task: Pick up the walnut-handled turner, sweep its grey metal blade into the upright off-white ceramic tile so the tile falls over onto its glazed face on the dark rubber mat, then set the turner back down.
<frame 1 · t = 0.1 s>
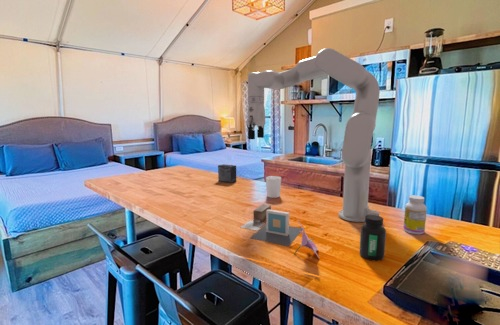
hand: (256, 138, 132), 31 cm above the table, fingers open, 9 cm apart
small box: (227, 181, 183), on the table
white cup: (273, 196, 148), on the table
supplement bottle 2: (413, 231, 102), on the table
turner: (262, 219, 115), on the table
lily: (307, 256, 85), on the table
tile: (277, 233, 100), resting on mat
supplement bottle: (371, 256, 85), on the table
mat: (277, 234, 100), on the table
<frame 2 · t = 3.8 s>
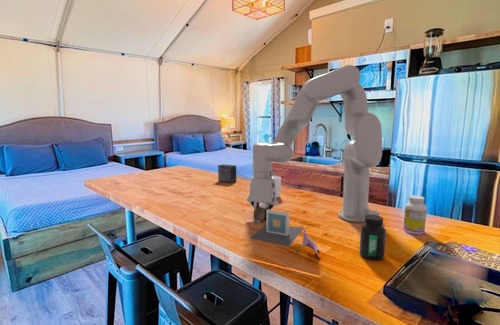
hand: (262, 218, 115), 0 cm above the table, fingers closed on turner, 3 cm apart
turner: (262, 219, 115), on the table, touching gripper
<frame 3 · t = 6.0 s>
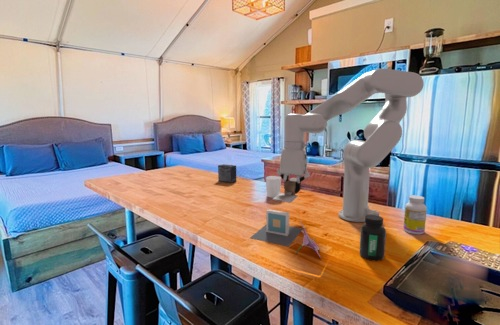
hand: (292, 191, 113), 12 cm above the table, fingers closed on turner, 3 cm apart
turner: (292, 192, 114), point 11 cm above the table, touching gripper
everything else where it was.
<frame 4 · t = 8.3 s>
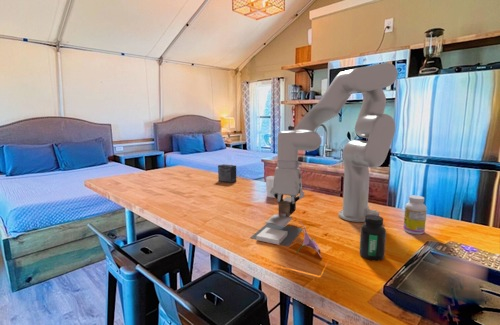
hand: (286, 211, 108), 5 cm above the table, fingers closed on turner, 3 cm apart
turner: (287, 212, 108), point 5 cm above the table, touching gripper
tile: (276, 231, 100), point 1 cm above the table, tilted 90°, touching mat
everything else where it was.
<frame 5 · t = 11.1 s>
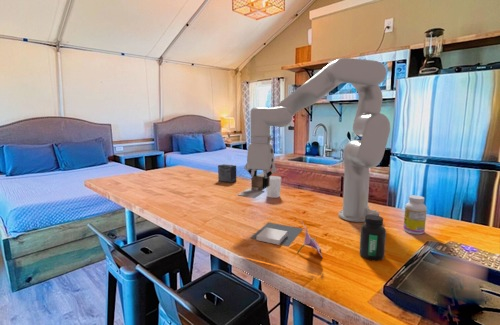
hand: (260, 186, 111), 14 cm above the table, fingers closed on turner, 3 cm apart
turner: (260, 188, 112), point 13 cm above the table, touching gripper
when the fingers open (2 cm above the table, at t = 13.6 s): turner stays where it is, on the table.
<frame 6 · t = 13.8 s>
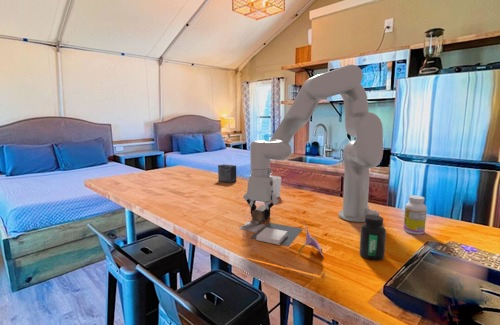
hand: (260, 216, 113), 2 cm above the table, fingers open, 5 cm apart
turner: (261, 220, 114), on the table
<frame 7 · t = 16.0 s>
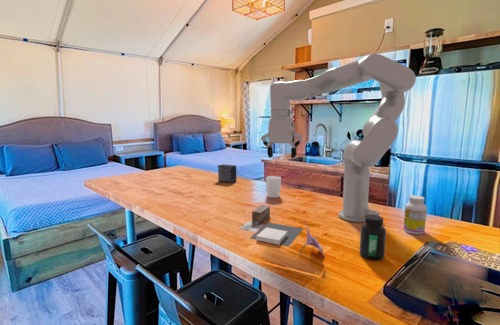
hand: (281, 157, 115), 25 cm above the table, fingers open, 9 cm apart
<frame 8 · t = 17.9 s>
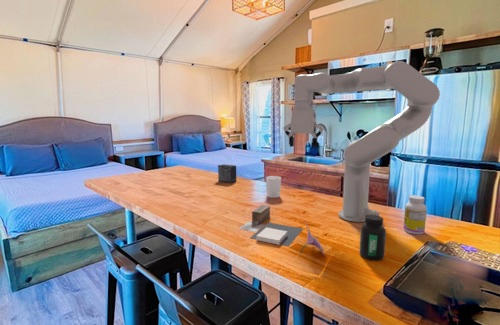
hand: (302, 146, 120), 28 cm above the table, fingers open, 9 cm apart
at the end: tile tilted 90°; tile inside the target area (3.2 cm from its centre), point 1.4 cm above the table; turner on the table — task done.
